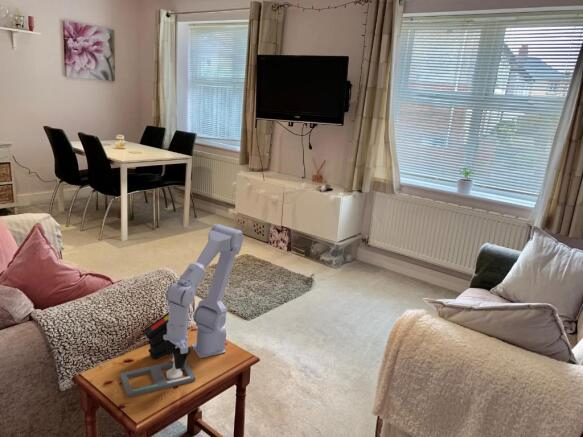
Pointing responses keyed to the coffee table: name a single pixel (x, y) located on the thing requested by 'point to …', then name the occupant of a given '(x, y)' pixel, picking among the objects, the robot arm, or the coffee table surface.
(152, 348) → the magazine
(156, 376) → the port panel
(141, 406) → the coffee table surface
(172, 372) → the chess piece
